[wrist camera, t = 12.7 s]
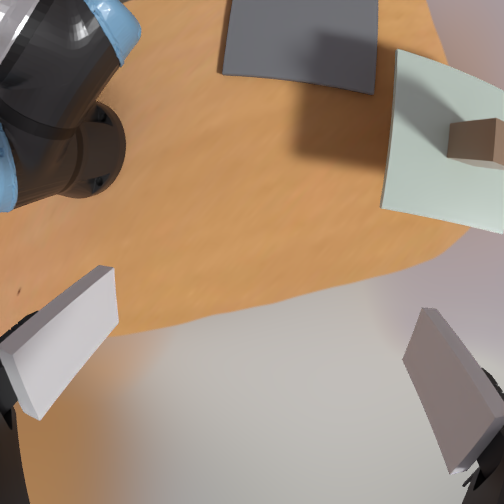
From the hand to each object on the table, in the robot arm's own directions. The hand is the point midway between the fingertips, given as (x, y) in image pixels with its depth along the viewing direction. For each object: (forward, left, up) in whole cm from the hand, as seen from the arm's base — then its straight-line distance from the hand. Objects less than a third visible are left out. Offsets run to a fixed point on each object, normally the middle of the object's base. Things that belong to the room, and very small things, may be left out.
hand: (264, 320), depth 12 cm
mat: (+1, +26, -32) cm, 41 cm away
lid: (+20, +11, -22) cm, 32 cm away
